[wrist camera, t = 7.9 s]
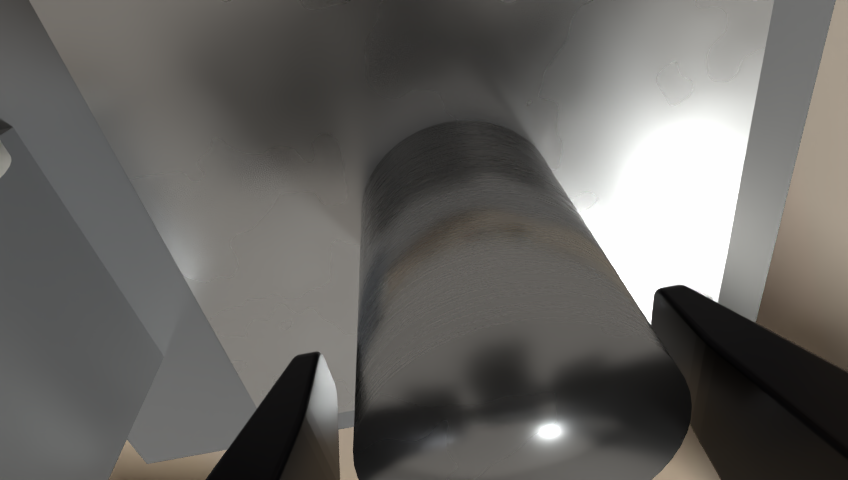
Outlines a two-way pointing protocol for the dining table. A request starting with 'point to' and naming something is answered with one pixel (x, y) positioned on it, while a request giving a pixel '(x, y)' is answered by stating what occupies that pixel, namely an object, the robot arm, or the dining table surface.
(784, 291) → the dining table surface
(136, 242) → the scale
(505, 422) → the cylinder
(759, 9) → the pan
